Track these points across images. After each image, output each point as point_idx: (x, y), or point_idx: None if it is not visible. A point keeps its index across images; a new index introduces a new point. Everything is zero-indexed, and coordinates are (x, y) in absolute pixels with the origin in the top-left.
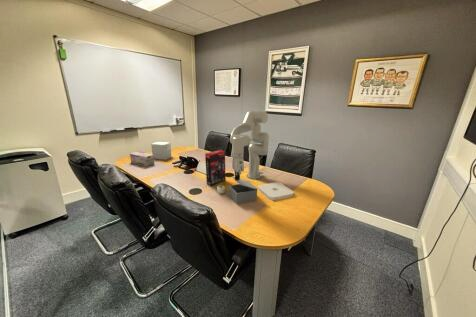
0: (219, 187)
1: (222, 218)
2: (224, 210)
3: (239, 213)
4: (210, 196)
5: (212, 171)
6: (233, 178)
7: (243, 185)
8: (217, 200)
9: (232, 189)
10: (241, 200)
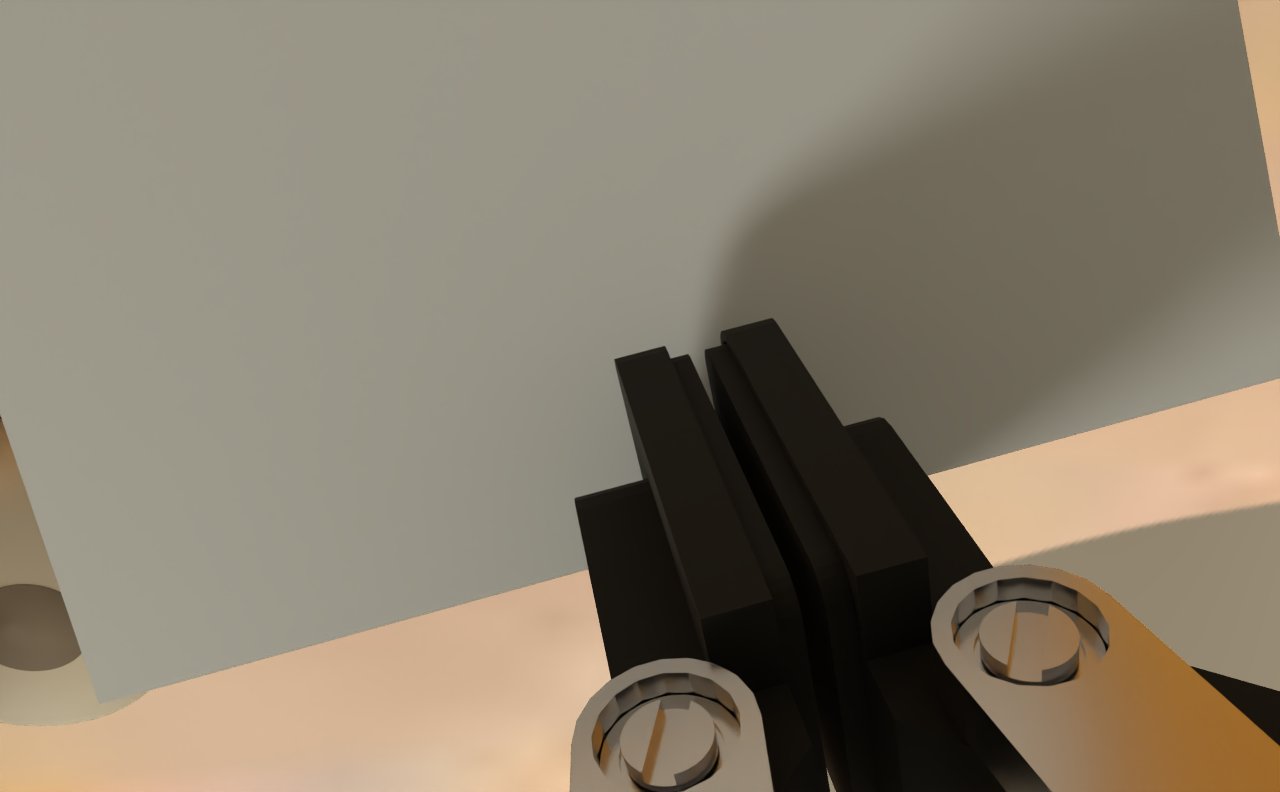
0: (74, 665)
1: (1254, 490)
2: (1023, 450)
3: (1267, 147)
4: (349, 720)
5: None
6: (378, 616)
7: (1230, 100)
8: (568, 581)
9: None
10: None
